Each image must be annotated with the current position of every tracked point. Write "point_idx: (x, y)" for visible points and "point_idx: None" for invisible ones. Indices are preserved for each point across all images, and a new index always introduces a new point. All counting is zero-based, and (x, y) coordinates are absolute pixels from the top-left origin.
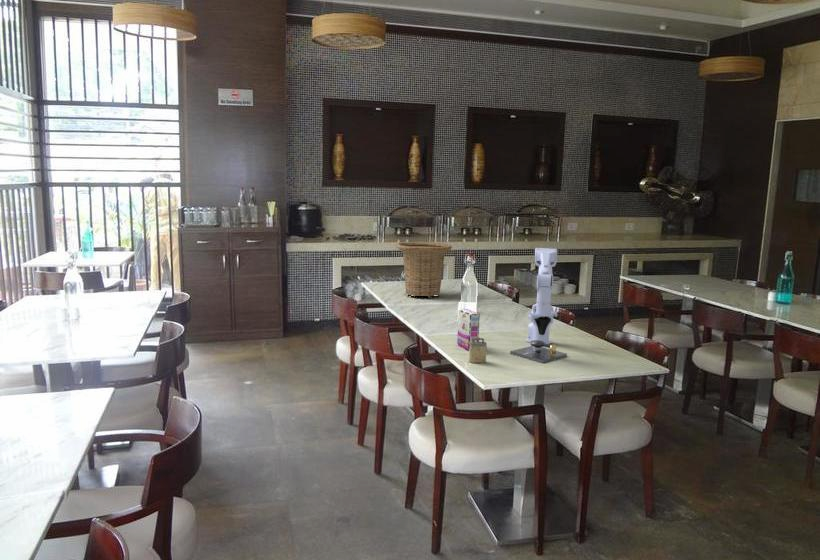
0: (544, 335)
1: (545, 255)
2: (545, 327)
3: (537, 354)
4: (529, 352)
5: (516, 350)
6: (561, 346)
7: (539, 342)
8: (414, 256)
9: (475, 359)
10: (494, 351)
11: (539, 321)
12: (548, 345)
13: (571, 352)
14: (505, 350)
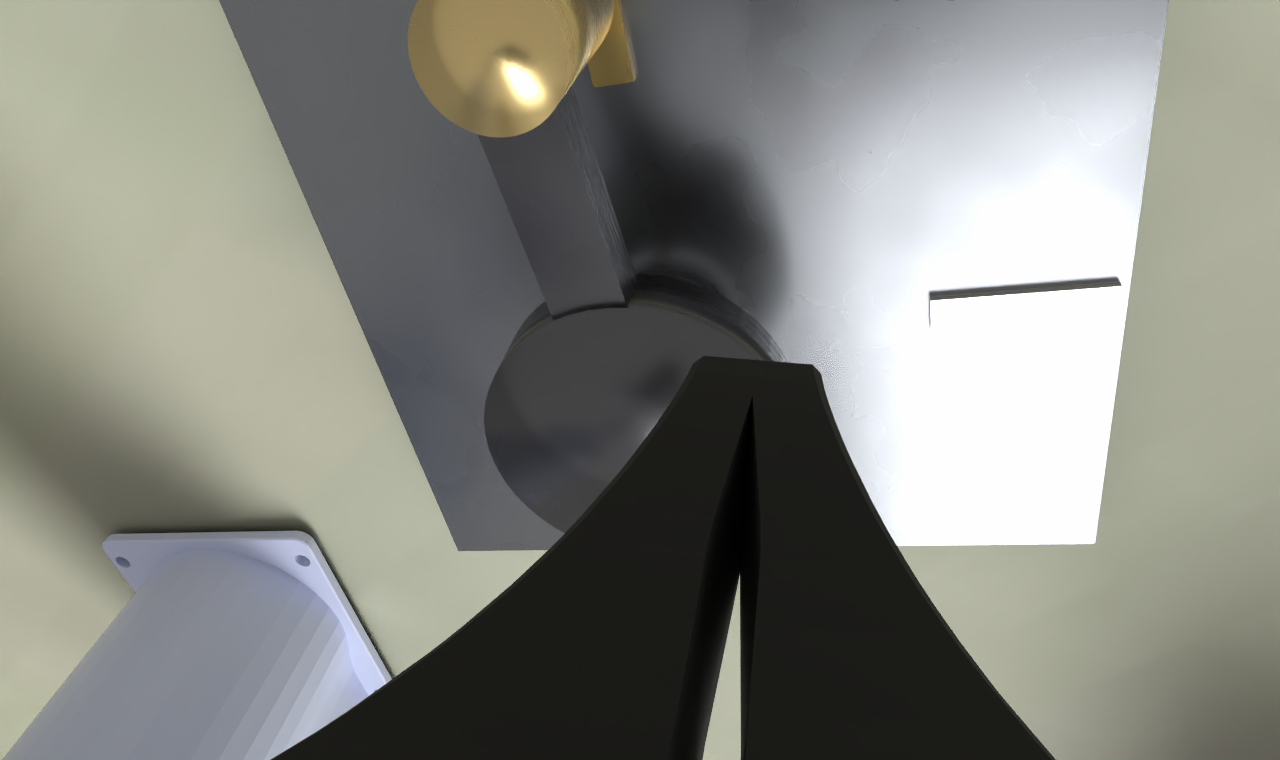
0: (185, 654)
1: None
2: (682, 536)
3: (842, 175)
4: (866, 345)
5: (961, 520)
6: (45, 393)
7: (626, 409)
8: None
9: None
10: (1155, 673)
11: None
12: (575, 157)
13: (5, 81)
14: (965, 631)
